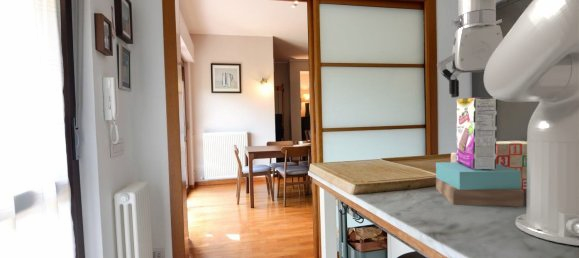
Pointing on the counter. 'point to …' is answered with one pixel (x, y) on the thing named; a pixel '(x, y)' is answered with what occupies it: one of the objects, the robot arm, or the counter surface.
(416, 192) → the counter surface
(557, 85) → the robot arm
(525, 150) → the stack of blocks
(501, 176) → the teal top slab
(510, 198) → the walnut base slab
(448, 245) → the counter surface
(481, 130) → the candy bar box
